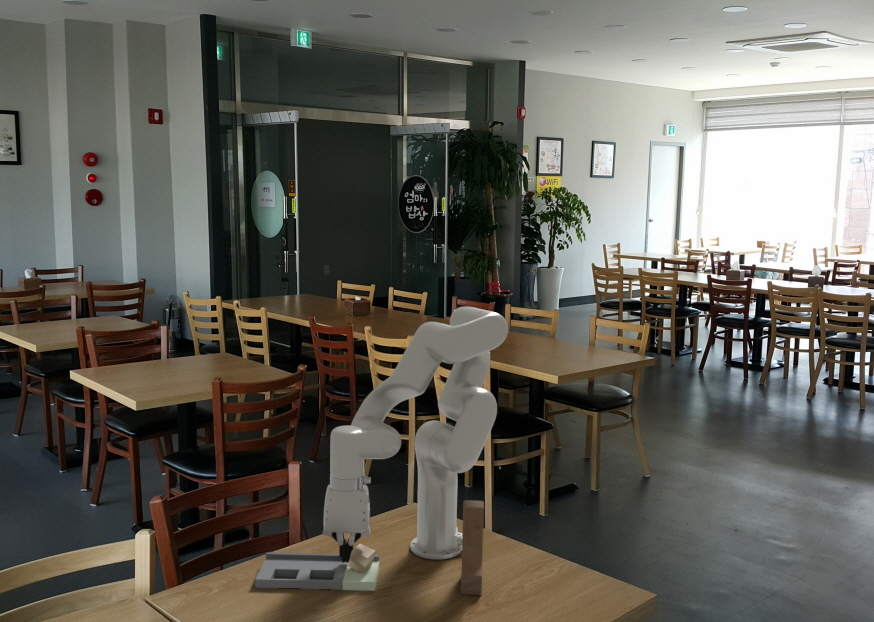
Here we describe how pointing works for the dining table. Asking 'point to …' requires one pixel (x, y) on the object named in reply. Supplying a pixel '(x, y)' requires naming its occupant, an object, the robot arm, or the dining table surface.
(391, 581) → the dining table surface
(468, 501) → the wooden block
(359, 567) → the ash cube
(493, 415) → the robot arm
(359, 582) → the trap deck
